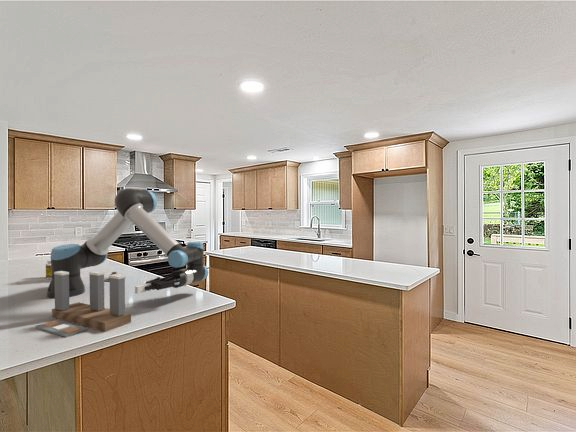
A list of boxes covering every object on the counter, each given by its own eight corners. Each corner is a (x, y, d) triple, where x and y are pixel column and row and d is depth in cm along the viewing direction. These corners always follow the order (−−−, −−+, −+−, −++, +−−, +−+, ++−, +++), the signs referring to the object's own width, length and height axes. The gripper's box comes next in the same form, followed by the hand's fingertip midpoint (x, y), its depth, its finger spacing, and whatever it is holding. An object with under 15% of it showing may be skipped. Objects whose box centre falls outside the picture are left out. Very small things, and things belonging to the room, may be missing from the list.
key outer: (116, 311, 122) (115, 274, 121) (125, 313, 120) (124, 275, 119) (109, 313, 119) (109, 275, 119) (118, 316, 117) (118, 276, 117)
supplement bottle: (43, 278, 189) (43, 261, 188) (48, 276, 194) (48, 259, 194) (54, 278, 190) (54, 260, 190) (59, 276, 195) (58, 259, 195)
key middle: (96, 307, 127) (95, 271, 127) (104, 309, 125) (104, 272, 124) (89, 308, 125) (89, 272, 124) (98, 311, 123) (97, 273, 122)
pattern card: (35, 327, 114) (35, 325, 114) (57, 321, 121) (57, 319, 121) (65, 337, 106) (65, 334, 106) (86, 330, 112) (86, 327, 112)
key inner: (61, 306, 127) (61, 270, 127) (69, 308, 125) (69, 272, 124) (54, 308, 125) (54, 272, 124) (62, 310, 123) (61, 273, 122)
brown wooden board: (52, 316, 125) (51, 309, 125) (78, 309, 134) (78, 302, 134) (105, 331, 111) (105, 323, 111) (131, 322, 120) (130, 314, 120)
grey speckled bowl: (99, 280, 188) (99, 272, 188) (122, 276, 197) (122, 269, 197) (106, 283, 180) (106, 275, 180) (129, 280, 188) (129, 272, 188)
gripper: (191, 287, 146) (148, 301, 125) (170, 284, 152) (125, 297, 131) (191, 271, 146) (147, 282, 125) (170, 268, 152) (125, 278, 131)
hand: (136, 290), depth 128 cm, fingers closed
